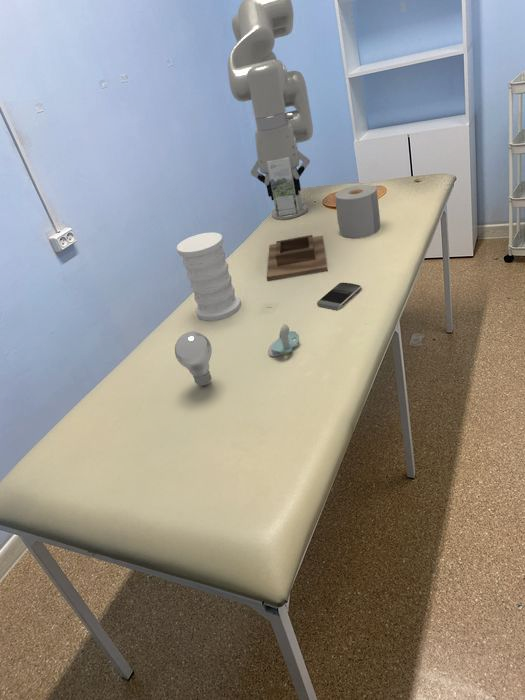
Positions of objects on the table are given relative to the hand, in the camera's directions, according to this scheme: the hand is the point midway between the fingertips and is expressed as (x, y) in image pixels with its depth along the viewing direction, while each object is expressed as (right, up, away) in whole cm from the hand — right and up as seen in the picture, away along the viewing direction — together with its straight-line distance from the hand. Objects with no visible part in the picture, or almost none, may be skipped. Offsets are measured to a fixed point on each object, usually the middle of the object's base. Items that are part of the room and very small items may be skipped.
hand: (285, 195), depth 130 cm
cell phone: (+12, -28, -13) cm, 33 cm away
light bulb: (-17, -47, -31) cm, 59 cm away
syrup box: (+1, -4, +2) cm, 5 cm away
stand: (+4, -15, +10) cm, 18 cm away
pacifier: (-2, -40, -26) cm, 48 cm away
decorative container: (-17, -30, -5) cm, 35 cm away
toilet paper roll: (+23, -5, +18) cm, 30 cm away
